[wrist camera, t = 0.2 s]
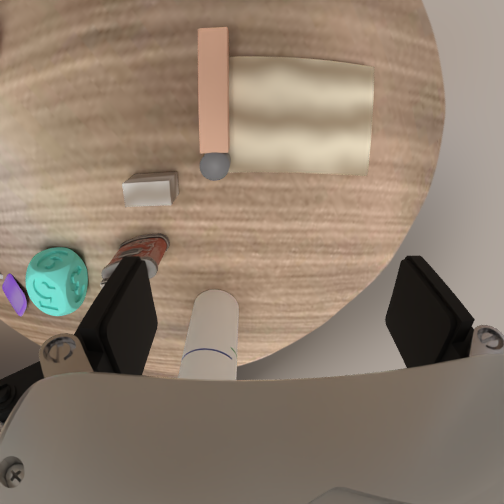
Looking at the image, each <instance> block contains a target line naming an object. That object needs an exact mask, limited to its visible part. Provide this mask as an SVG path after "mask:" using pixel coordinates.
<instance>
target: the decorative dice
mask: <svg viewBox="0 0 504 504" xmlns="http://www.w3.org/2000/svg"><path fill="white" fill-rule="evenodd" d="M87 285H88V275H87V269H86V266H85V264H84V262H83V261H82V259H81V258H80V257H79V256H78V255H77V254H76V253H75V252H74V251H72V250H70V249H68V248H64V247H55V248H50V249H46V250H44V251H41V252H40V253H38V254H36V255H35V256H34V257H33V258H32V260H31V261H30V263H29V265H28V268H27V272H26V289H27V292H28V295H29V297H30V299H31V300H32V302H33V303H34V304H35V305H36V306H37V307H38V308H39V309H40V310H41V311H43V312H44V313H46V314H49V315H53V316H63V315H67V314H70V313H72V312H74V311H75V310H77V309H78V308H79V307H80V306H81V304H82V303H83V301H84V299H85V296H86V292H87Z"/></svg>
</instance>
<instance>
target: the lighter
mask: <svg viewBox="0 0 504 504" xmlns="http://www.w3.org/2000/svg"><path fill="white" fill-rule="evenodd" d="M169 244H170V242H169V239H168V237H167V236H166V235H164V234H161V233H158V234H147V235H141V236H138V237H135V238H132V239H130V240H128V241H126V242H124V243H122V244H121V246H120V247H119V251H118V252H117V253H116V255H115V256H114V257H113V259H112V260H111V262H110V263H109V264H108V265H107V266H106V267H105V268H104V269H103V270H102V278H103V280H102V282H101V283H100V286H101V288H103V287H104V285H105V283H106V282H107V280H108V279H109V277H110V276H111V274H112V273H113V271H114V270H115V268H116V267H117V266H118V264H119V263H120V261H121V260H122V258H123V257H124V256H139V257H140V258H141V260H145V262H146V265H147V271H148V276H149V279H150V278H152V277H154V276H155V275H156V273H157V271H158V265H159V263H160V261H161V259H162V257H163V255H164V253H165V252H166V251H167V249H168V247H169Z"/></svg>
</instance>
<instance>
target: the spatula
mask: <svg viewBox="0 0 504 504" xmlns="http://www.w3.org/2000/svg"><path fill="white" fill-rule="evenodd" d="M0 279H3V275H2V274H0ZM2 288H3V291H4V293H5V295H6V296H7V298H8V300H9V301H10V303H11V304H12V306H13V308H14V309H15V311H16V312H17V314H18V315H19V316H22V315H23V313H24V311H25V310H26V308H27V301H26V297H25V294H24V293H23V291H22V290H21V288H20V287H19V285H18V284H17V282H16V280H15V279H14V277H13V275H12V274H8V275H7V277H6V279H5V281H4V283H3V287H2Z"/></svg>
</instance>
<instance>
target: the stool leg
mask: <svg viewBox="0 0 504 504" xmlns="http://www.w3.org/2000/svg"><path fill="white" fill-rule="evenodd" d="M198 103H199V138H200V153H206V154H205V155H204V157H203V158H202V159H201V162H200V171H201V173H202V175H203V176H204V177H205V178H207V179H209V180H213V181H216V180H220V179H222V178H224V177H225V176H226V175H227V173H228V171H229V167H230V163H231V159H230V155H229V154H228V151H229V149H230V136H229V31H228V28H227V27H214V28H199V29H198Z"/></svg>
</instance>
